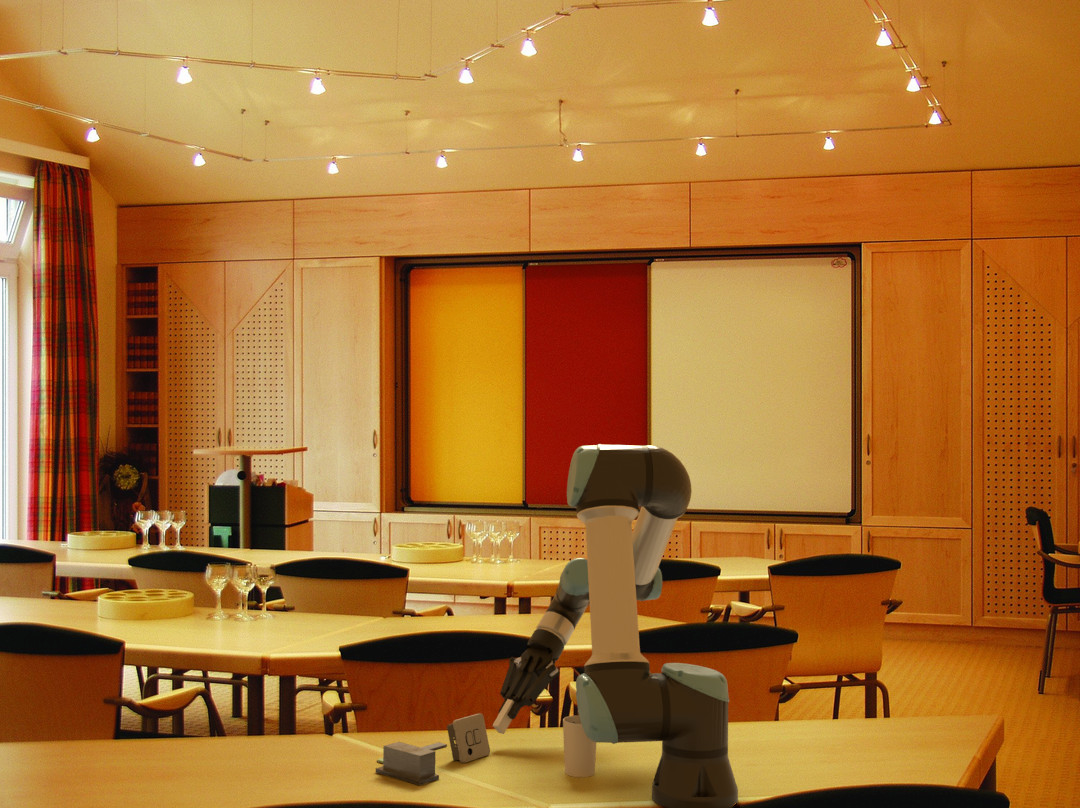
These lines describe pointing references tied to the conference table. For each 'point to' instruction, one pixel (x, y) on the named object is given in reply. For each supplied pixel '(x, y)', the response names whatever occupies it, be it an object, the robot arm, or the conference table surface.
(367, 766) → the conference table surface
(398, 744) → the block
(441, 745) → the green and grey strip
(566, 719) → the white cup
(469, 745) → the electrical switch
